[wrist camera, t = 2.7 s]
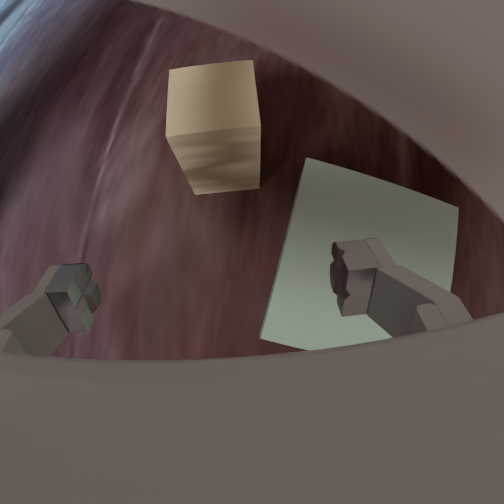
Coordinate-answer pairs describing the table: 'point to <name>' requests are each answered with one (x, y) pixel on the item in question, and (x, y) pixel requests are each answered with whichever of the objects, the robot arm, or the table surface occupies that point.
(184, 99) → the maple block
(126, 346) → the table surface
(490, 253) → the table surface
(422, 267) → the plinth
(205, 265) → the table surface
